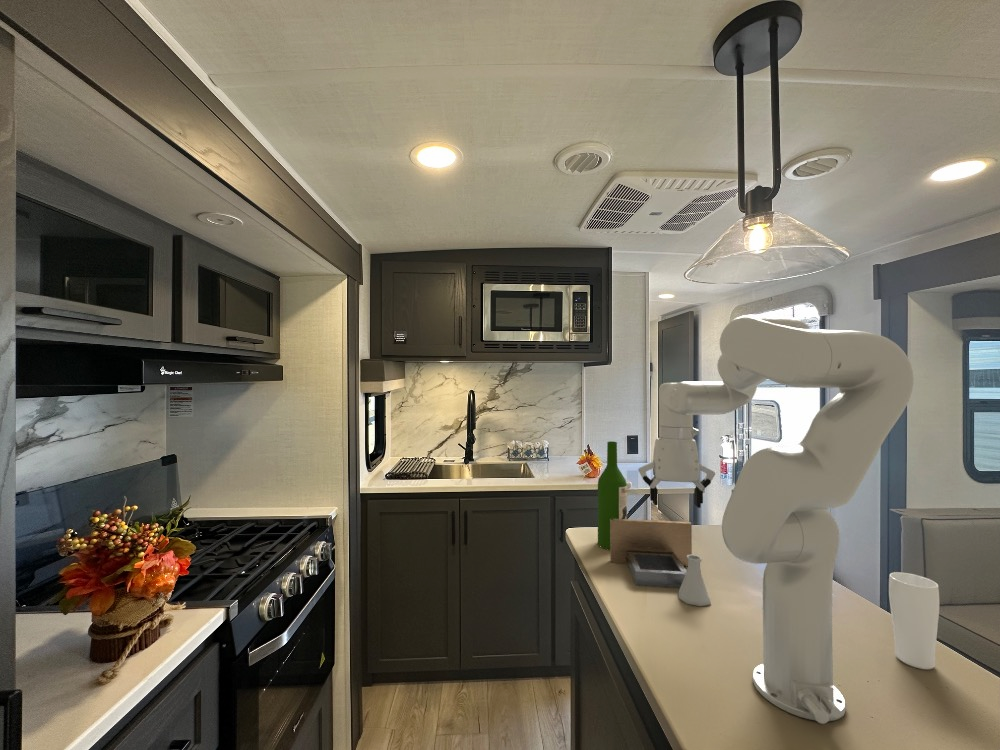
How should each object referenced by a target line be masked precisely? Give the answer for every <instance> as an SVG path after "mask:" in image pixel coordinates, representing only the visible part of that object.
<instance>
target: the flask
mask: <svg viewBox="0 0 1000 750" xmlns="http://www.w3.org/2000/svg"><path fill="white" fill-rule="evenodd" d="M687 559H688V567H686V568H687V569H686V570H687V572H686V575H685V577H684V580H683V583H682V585H681V587H680V588H679V590H678V593H677V594H678V599H679V600H681V601H682V602H684V603H685V604H687V605H691V606H698V607H704V606H709V605H712V602H711V598H710V595H709V592H708V590H707V588H706V585H705V581H704V579H703V575H702V571H701V562H702V557H701V556H700V555H697V554H692V555H687Z"/></svg>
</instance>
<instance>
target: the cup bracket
mask: <svg viewBox="0 0 1000 750" xmlns="http://www.w3.org/2000/svg"><path fill="white" fill-rule="evenodd" d="M692 525H693V524H692V523H691V522H690V521H677V520H675V521H674V520H655V519H653V520H652V519H651V520H650V519H632V518H631V519H630V518H629V519H628V518H627V519H610V550H609V553H610V554H609V555H610V556H609V557H610V558H609V560H610V563H613V562H614V563H613V564H617V563H618V564H627V566H628V569H629V572H630V574H631V578H632V580H633V582H634V585H635V586H639V587H640V586H642V587H657V588H670V587H672V589H674V588H675V589H680V587H681V585H682V583H683V580H684V577H685V575H686V572H687V569H686V568H685V567H684V566H688V559H687V555H693V554H692V553H693V550H692V549H693V541H692V537H693V535H692V532H693V531H692V530H693V529H692V527H693V526H692Z"/></svg>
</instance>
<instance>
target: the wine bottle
mask: <svg viewBox="0 0 1000 750" xmlns="http://www.w3.org/2000/svg"><path fill="white" fill-rule="evenodd" d="M606 443H607V445H606V446H607V447H606V448H607V449H606V451H607V452H606V456H607V457H606V459H607V460H606V467H605V468H604V470H603V471H602V472H601V474H600V476H599V477H598V480H597V544H598V547H600V546H601V547H602V548H601V547H600V548H601V549H604V548H606V549H605V550H607V549H610V519H628V485H627V481H626V479H625V477H624V475H623V473H622V472H621V470H620V468H619V466H618V442H617V441H607V442H606Z"/></svg>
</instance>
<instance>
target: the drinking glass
mask: <svg viewBox="0 0 1000 750" xmlns="http://www.w3.org/2000/svg"><path fill="white" fill-rule="evenodd" d="M888 597H889V598H888V599H889V606H890V615H891V621H892V622H891V623H892V630H893V639H894V640H893V641H894V654H895V657H896V658H897V659H898V660H899V661H900V662H902V663H904V664H906V665H908V666H910V667H912V668H916V669H920V670H932V669H934V668H935V666H936V648H937V647H936V646H937V637H938V636H937V635H938V627H939V626H938V625H939V619H940V618H939V617H940V589H939V584H938V583H937V582H935V581H934V580H932V579H931V578H928V577H924V576H922V575H918V574H914V573H908V572H899V571H894V572H891V573H890V574H889V578H888Z"/></svg>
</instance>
